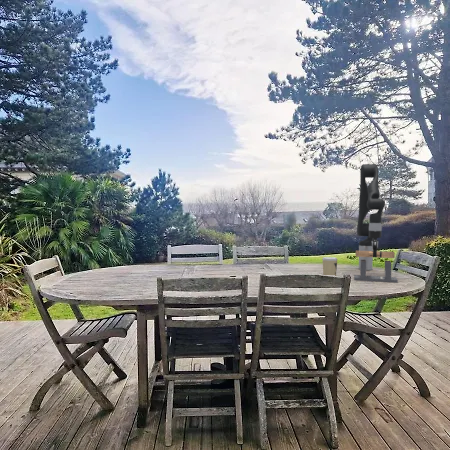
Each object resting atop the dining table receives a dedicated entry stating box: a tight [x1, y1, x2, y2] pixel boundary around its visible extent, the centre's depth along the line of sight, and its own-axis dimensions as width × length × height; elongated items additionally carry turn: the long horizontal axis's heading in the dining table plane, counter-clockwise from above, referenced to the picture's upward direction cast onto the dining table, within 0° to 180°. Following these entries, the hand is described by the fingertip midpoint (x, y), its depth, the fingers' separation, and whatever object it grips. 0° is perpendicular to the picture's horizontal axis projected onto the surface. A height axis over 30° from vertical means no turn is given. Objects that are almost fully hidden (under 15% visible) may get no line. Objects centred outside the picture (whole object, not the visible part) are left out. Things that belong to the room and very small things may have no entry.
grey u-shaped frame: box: [353, 260, 399, 284], centre depth 230 cm, size 10×24×12 cm, turn 70°
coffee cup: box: [321, 256, 338, 277], centre depth 242 cm, size 9×9×12 cm
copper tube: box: [355, 250, 396, 259], centre depth 242 cm, size 23×4×4 cm, turn 70°
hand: (374, 256), depth 242 cm, fingers closed on copper tube, 4 cm apart
